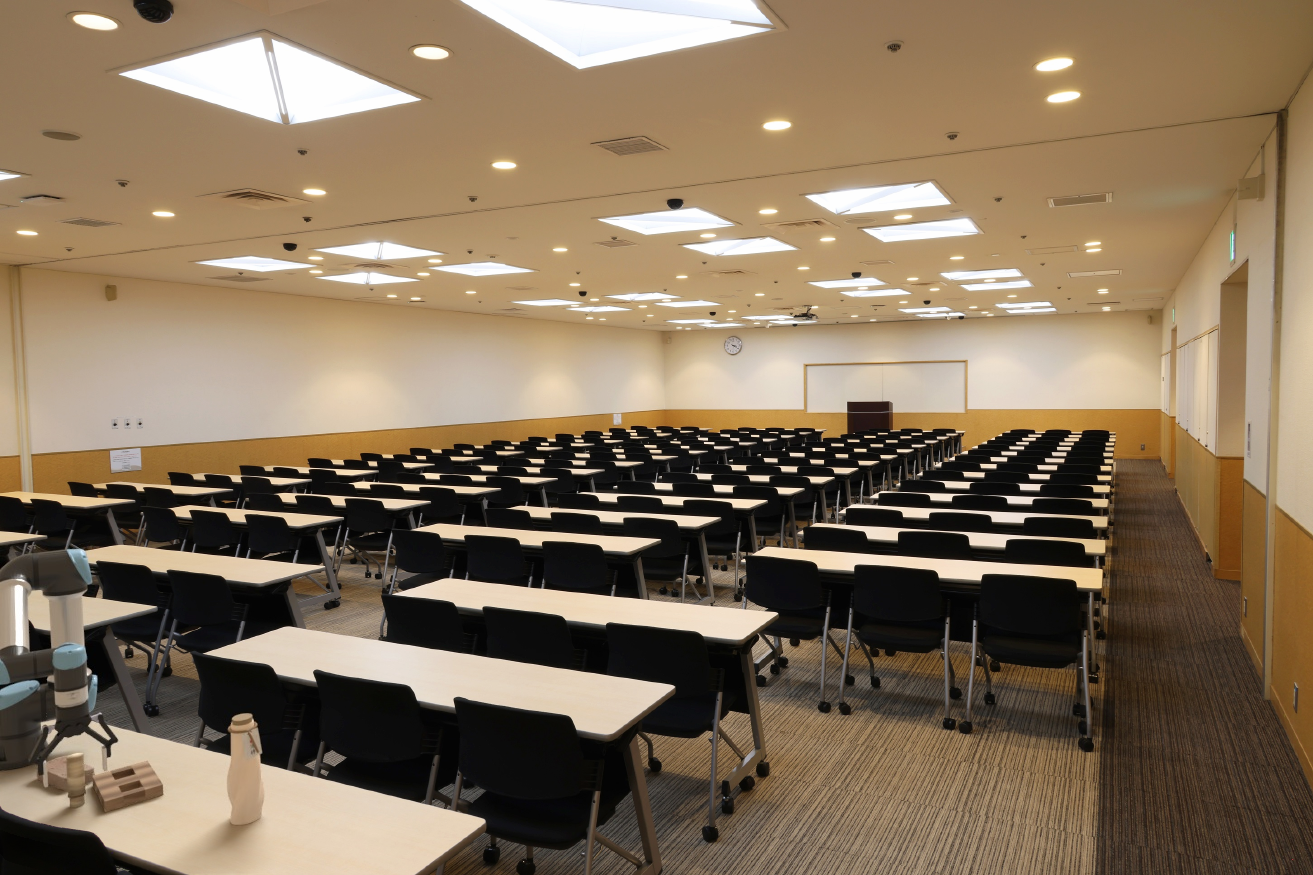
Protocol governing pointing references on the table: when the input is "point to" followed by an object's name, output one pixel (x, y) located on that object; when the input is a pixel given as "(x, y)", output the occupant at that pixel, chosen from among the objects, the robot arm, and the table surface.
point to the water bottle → (245, 771)
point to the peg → (76, 779)
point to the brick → (63, 773)
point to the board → (127, 785)
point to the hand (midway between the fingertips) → (76, 777)
